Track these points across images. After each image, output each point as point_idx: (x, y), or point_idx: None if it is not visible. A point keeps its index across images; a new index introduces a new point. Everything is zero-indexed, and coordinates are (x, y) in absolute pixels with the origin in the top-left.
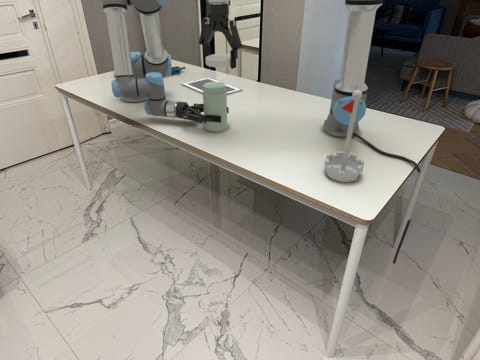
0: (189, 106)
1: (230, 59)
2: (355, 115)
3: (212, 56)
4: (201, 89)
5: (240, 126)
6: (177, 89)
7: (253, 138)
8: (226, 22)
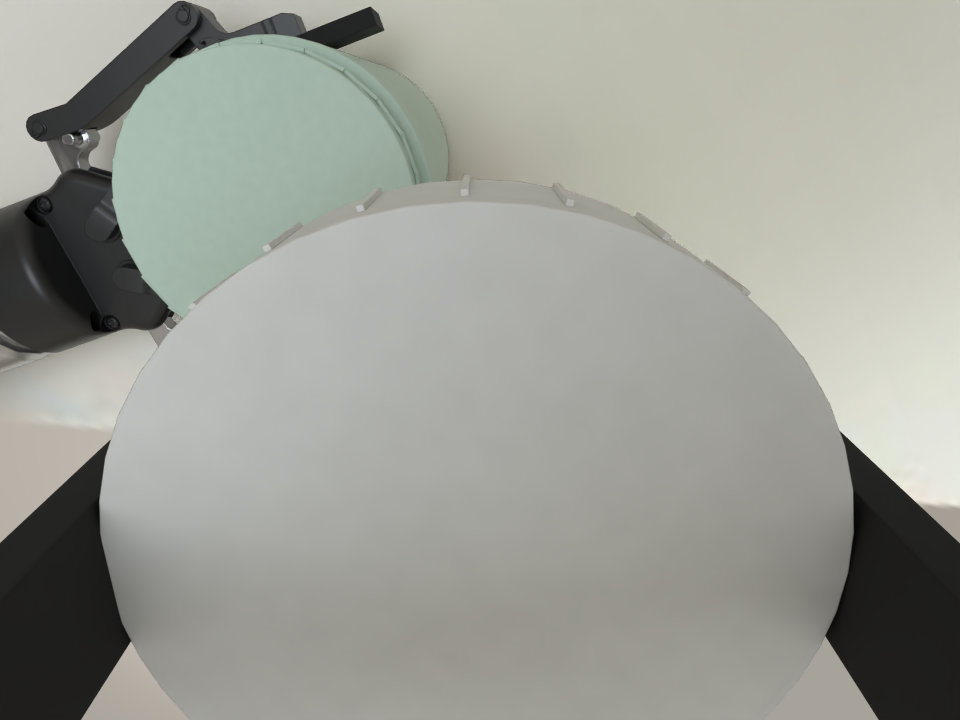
0: (57, 212)
1: (837, 653)
2: None
3: (264, 612)
4: None
5: (517, 31)
6: None
7: (712, 167)
8: None
